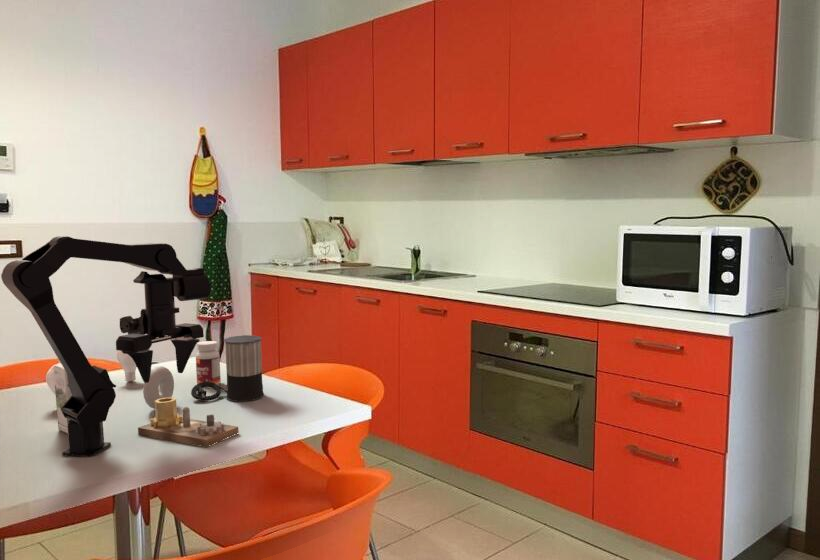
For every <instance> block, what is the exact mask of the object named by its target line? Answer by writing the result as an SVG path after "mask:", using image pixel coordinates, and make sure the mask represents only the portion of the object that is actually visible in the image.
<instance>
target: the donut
mask: <svg viewBox="0 0 820 560" xmlns="http://www.w3.org/2000/svg"><path fill="white" fill-rule="evenodd" d="M174 380H175V378H174V375H173V374H172V372H171V370H169V368H167V367H165V366H163V365H161V366H155V367H154V368H151V374H150V379H149V382H148V383H145V382H144V381H143V387H142V388H143V389H142V393H143V398H144V401H145V403H146V405H148V407H149V408H150V409H151V408H152V409H154V410H155V402H154V401H156V400H157V399H161V398H173V395H174V394H173V393H174V390H175V381H174Z"/></svg>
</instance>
